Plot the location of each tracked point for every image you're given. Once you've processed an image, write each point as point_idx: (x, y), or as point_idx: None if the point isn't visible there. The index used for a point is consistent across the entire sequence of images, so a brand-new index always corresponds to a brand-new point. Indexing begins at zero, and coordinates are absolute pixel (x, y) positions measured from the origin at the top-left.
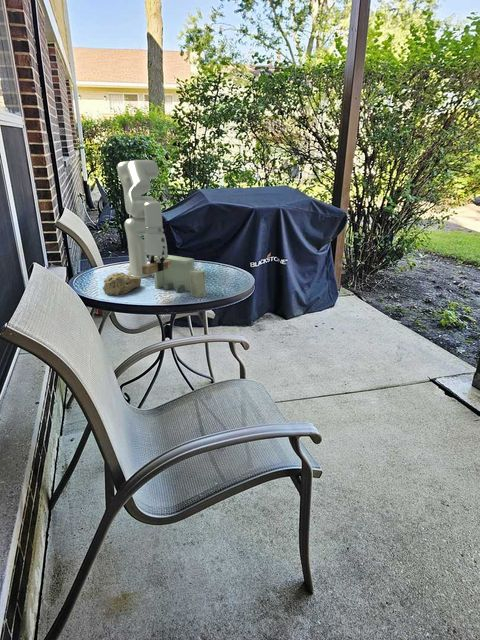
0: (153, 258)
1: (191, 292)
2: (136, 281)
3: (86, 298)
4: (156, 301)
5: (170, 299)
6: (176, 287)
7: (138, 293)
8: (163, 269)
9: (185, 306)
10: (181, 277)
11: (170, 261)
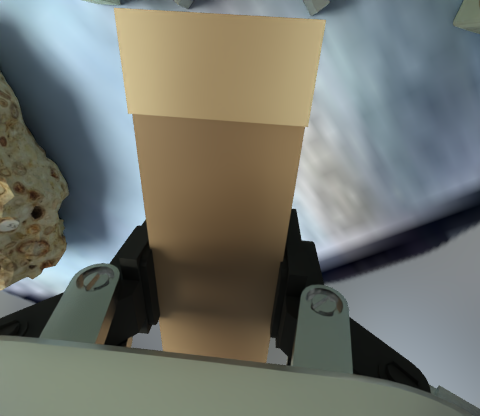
0: (108, 309)
1: (475, 27)
2: (4, 119)
3: (22, 298)
4: None
5: (345, 164)
6: (315, 6)
7: (115, 159)
8: (296, 213)
9: (475, 219)
10: None
11: (321, 27)
